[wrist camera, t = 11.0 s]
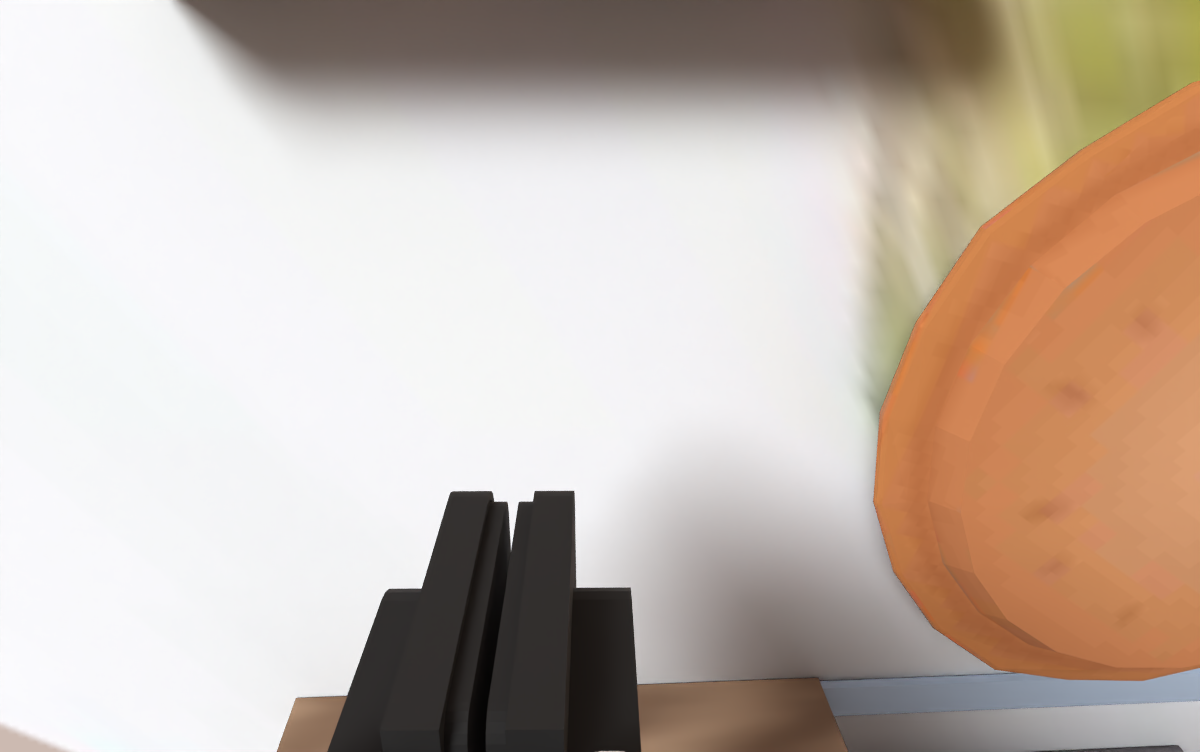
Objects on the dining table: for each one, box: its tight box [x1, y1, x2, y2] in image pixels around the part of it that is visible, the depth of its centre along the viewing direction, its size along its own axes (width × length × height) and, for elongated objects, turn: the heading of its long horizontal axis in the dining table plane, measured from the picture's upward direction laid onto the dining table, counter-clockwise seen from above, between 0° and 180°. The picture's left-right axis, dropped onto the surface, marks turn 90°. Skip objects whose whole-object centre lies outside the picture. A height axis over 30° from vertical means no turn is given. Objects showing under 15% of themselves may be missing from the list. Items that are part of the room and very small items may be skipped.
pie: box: [873, 81, 1200, 681], centre depth 19 cm, size 15×16×5 cm
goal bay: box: [820, 668, 1200, 716], centre depth 21 cm, size 15×22×1 cm
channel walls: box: [277, 678, 848, 752], centre depth 19 cm, size 16×22×4 cm
